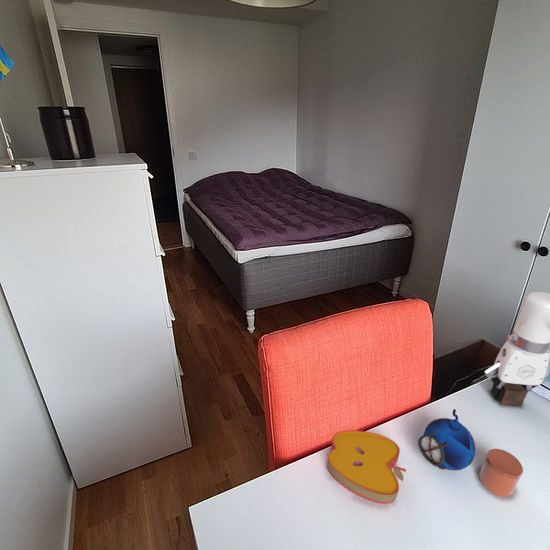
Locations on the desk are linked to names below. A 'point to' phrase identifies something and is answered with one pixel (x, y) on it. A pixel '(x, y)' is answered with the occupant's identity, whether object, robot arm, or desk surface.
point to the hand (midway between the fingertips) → (506, 397)
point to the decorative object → (366, 465)
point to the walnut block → (512, 395)
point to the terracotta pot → (500, 472)
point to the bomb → (447, 444)
